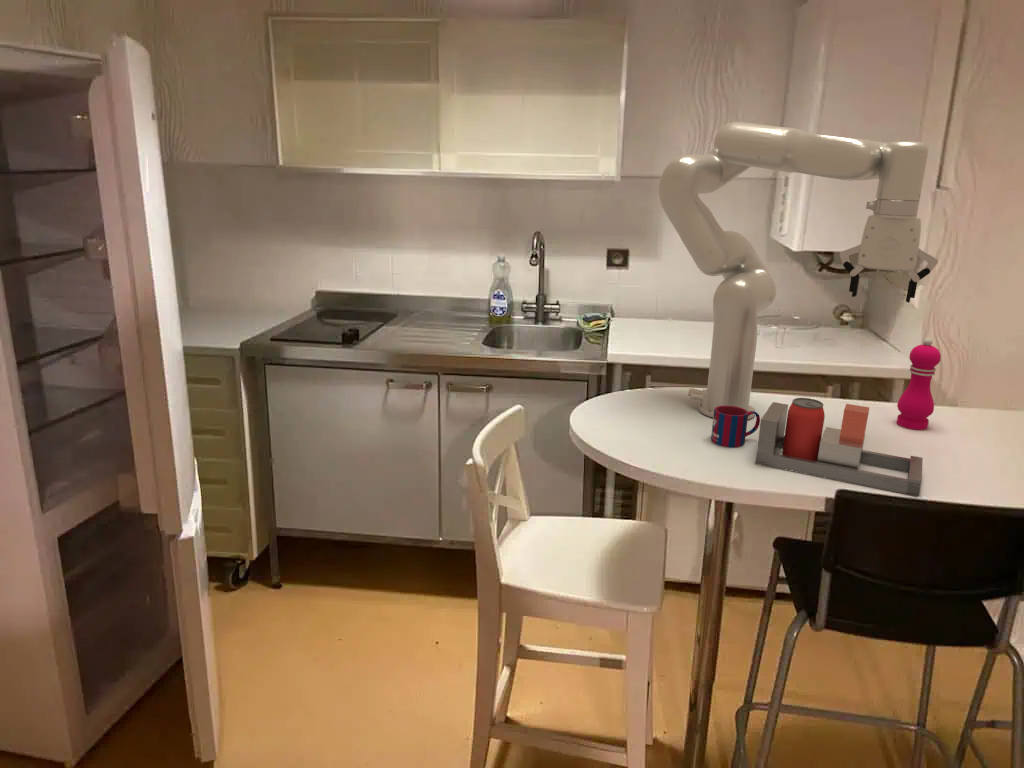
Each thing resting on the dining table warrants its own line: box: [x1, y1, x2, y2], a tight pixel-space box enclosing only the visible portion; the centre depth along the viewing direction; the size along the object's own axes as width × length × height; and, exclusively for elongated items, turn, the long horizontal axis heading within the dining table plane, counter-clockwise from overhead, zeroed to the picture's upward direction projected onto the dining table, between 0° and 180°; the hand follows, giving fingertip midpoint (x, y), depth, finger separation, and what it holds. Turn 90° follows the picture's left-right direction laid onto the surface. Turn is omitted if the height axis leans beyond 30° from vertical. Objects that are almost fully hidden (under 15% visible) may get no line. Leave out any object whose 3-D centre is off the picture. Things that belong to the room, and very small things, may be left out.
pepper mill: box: [896, 337, 941, 431], centre depth 168 cm, size 7×7×20 cm
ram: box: [817, 403, 870, 470], centre depth 144 cm, size 7×9×12 cm
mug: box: [710, 405, 761, 448], centre depth 157 cm, size 7×10×7 cm
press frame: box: [754, 401, 924, 497], centre depth 144 cm, size 28×12×9 cm, turn 62°
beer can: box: [781, 397, 826, 461], centre depth 147 cm, size 7×7×12 cm
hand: (880, 298), depth 151 cm, fingers open, 9 cm apart
